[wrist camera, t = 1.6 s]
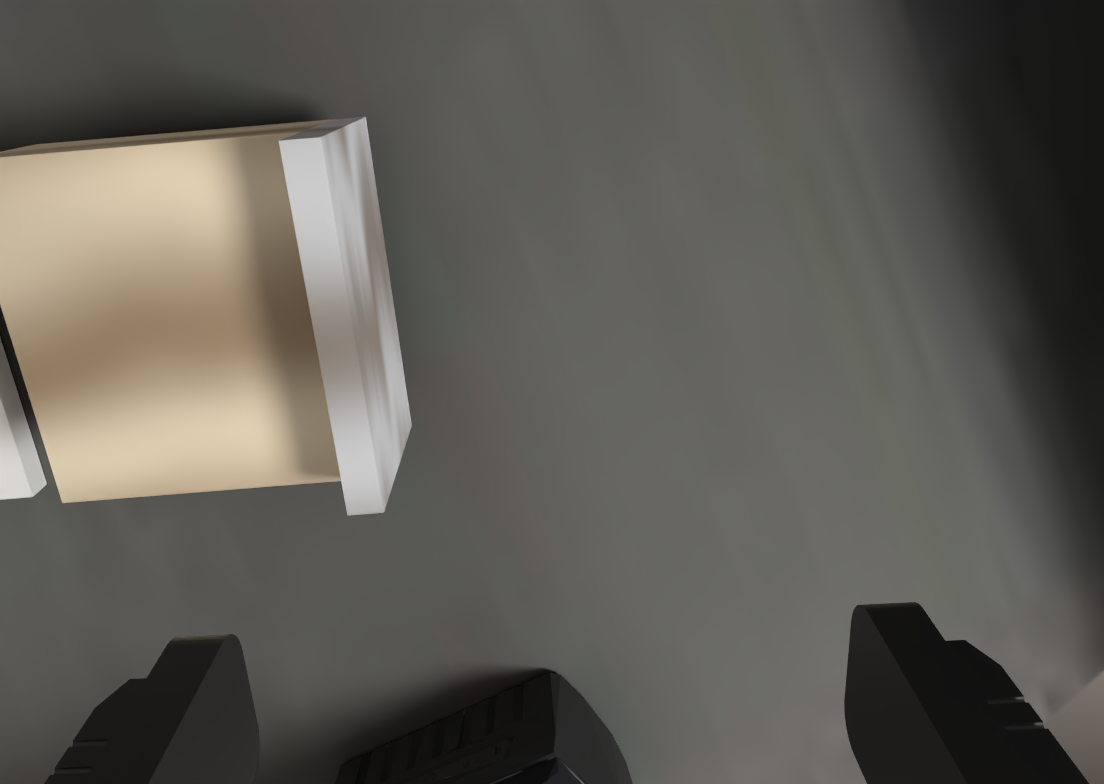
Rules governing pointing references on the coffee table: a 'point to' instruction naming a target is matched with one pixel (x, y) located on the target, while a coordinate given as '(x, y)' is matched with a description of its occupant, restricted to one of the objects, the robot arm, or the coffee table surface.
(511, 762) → the cordless drill
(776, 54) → the coffee table surface
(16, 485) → the dock
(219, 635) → the robot arm
